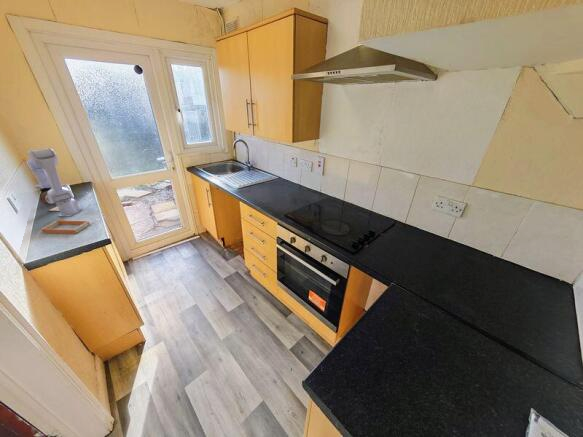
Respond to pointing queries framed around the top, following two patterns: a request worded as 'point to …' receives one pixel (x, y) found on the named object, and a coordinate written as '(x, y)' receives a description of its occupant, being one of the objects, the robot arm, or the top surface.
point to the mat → (55, 209)
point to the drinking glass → (68, 188)
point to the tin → (45, 198)
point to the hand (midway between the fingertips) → (54, 197)
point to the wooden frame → (49, 229)
